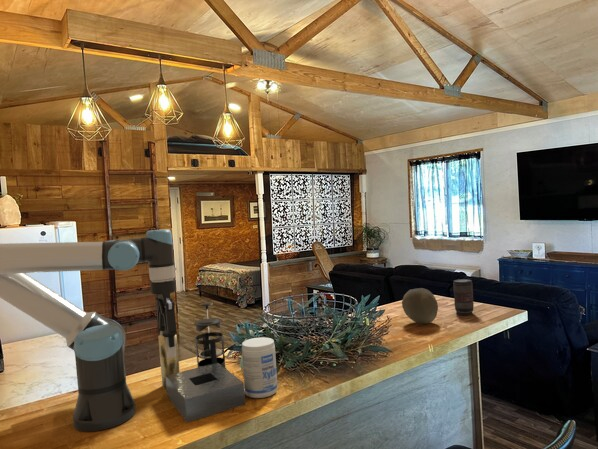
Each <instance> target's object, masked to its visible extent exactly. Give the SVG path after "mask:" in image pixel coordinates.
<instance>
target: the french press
mask: <svg viewBox="0 0 598 449" xmlns="http://www.w3.org/2000/svg"><path fill="white" fill-rule="evenodd" d="M213 305H214V303H213V302H204V303H203V302H202V303H201V304H200V307H205V310H206V317H207V318H203V319H199V320H195V321H194V326H195V330H196V331H197V332H202V333H201V334H198V335H196V336H195V337H194V338H195V349H196V350H195V351H196V361H197V362H196V363H197V368H198V367H202V366H206V365H210V364H214V363H219V364H220V365H222V366H223V367H224V368H226V369H227V367H226V358H225V357H226V356H225V344H224V334H223V333H222V332H218V331H213V332H212V331H210V327H211V326H215V327H216V328H219V329H221V328H222V322H223V318H222V319H221V318H218V317H209V309H210V308H209V306H213ZM206 328H207V330H208V331H205V332H203V331H204V330H205V329H206ZM211 337H216V338H211ZM201 339H202V340H201ZM219 342H221V347H222V348H217V346H216V344H217V343H219ZM198 345H203V346H202V347H203V350H201V351H199V348H198ZM220 356H222V357H220ZM199 359H201V360H200V361H199Z"/></svg>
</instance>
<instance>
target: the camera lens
mask: <svg viewBox="0 0 598 449" xmlns="http://www.w3.org/2000/svg"><path fill="white" fill-rule="evenodd" d="M452 284H453V285H452V286H453V296H454V310H455V311H456V312H455V314H456V315H459V316H465V317H466V316H467V317H469V316H471V315H473V311H474V307H475V306H474V289H473V287H474V285H473V282H472V279H463V278H462V279H455V280H453V283H452Z"/></svg>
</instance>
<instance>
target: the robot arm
mask: <svg viewBox="0 0 598 449" xmlns="http://www.w3.org/2000/svg"><path fill="white" fill-rule="evenodd" d="M174 254H175V253H174V243H173V234H172V231H171V230H170V229H168V228H167V229H154V230H153V229H152V230H147V231H146V232H145V237H139V238H138V237H137V238H125V239H124V238H122V239H113V240H111V239H110V240H106V241H75V242H74V241H73V242H72V241H71V242H70V241H69V242H65V241H63V242H25V243H24V242H23V243H22V242H21V243H19V242H18V243H17V242H16V243H12V242H11V243H10V242H9V243H0V299H2V300H3V301H5V302H6V303H8V304H9V305H11V306H13V307H15V308H16V309H17V310H19V311H21V312H23V313H24V314H26V315H27V316H29V317H31V318H32V319H34V320H35V321H37V322H39V323H40V324H42V325H43V326H45V327H47V328H48V329H50V330H52V331H53V332H55V333H56V334H58V335H60V336H62V338H65V341H66V346H67V347H68V348H69V349H71V350H73V352H74V357H75V369H76V381H77V390H78V391H77V392H78V393H77V394H78V395H77V400H76V403H75V408H74V411H73V415H72V422H73V428H74V429H76V431H79V432H87V433H88V432H98V431H99V432H100V431H103V430H108V429H111V428H115V427H117V426H119V425H121V424H124V423H125V422H127V421H129V420H130V419H131V418H133V417H134V416H135V414H136V410H137V409H136V402H135V399H134V397H133V395H132V392H131V391H130V388H129V386H128V384H127V377H126V376H127V375H126V365H125V364H126V363H125V348H126V343H127V337H126V336H127V335H126V331H125V330H124V327H122V325H121V324H120V323H119V322H118V321H116V320H114V319H110V318H106V317H105V316H103V315H101V314H99V313H98V312H96V311H91V312H87V311H85V310H83V309H82V308H80V307H78V306H77V305H76V304H74V303H72V302H71V301H69V300H67V299H66V298H65V297H63V296H61V295H60V294H58V293H57V292H56V291H54V290H52V288H51V289H50V288H49V287H48V286H46V285H45V284H43V283H41V281H38V280H37V279H36V278H34V277H32V276H31V275H29V274H33V273H58V272H59V273H60V272H61V273H62V272H77V271H78V272H80V271H104V270H106V271H107V270H109V271H110V270H117V271H120V272H121V271H129V270H131V269H133V268H134V267H135V266H136V265H137V264H142V263H148V275H149V276H148V277H149V280H150V281H151V282H150V283H149V284H150V286H149V287H150V293H151V294H152V295H154V296H155V298H154V299H155V303H156V319H157V327H158V330H159V335H160V334H162V331H164V330H166V335H164V338H165V339H166V352H167V358H171V357H176V356H177V355H176V342H175V335H177V334H178V332H177V331H178V330H177V321H176V313H175V304H176V303H175V302H174V300H173V298H172V297H171V294H172V293H175V292H176V291H177V280H176V279H175V278H176V271H177V267H175V255H174Z"/></svg>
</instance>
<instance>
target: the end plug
mask: <svg viewBox="0 0 598 449" xmlns="http://www.w3.org/2000/svg"><path fill="white" fill-rule="evenodd" d="M164 335H166V330H164V331H162V334H160V333H159V334H158V335H157V336H158V337H157V338H158V347H159V348H158V349H159V359H160V360H159V361H160V373H161V374H160V376H161V386H162V387H163V388H162V389H163V390H167V386H166V375H170V374H174V373H178V372H181V371H180V360H179V358H180V357H179V349H178V348H179V347H178V336H177V335H175V342H176V355H177V356H176V357H171V358H167V352H166V339H165V338H164Z"/></svg>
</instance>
